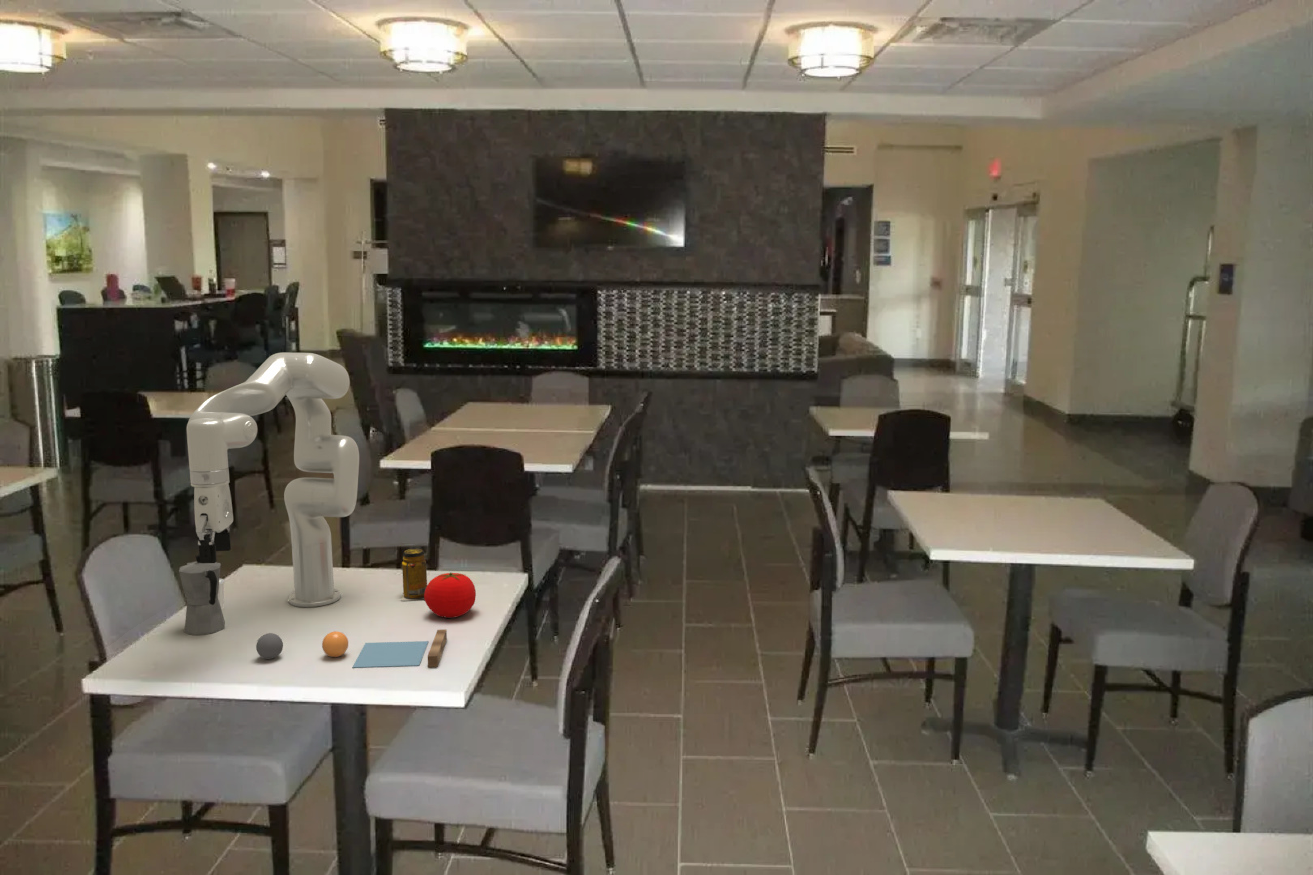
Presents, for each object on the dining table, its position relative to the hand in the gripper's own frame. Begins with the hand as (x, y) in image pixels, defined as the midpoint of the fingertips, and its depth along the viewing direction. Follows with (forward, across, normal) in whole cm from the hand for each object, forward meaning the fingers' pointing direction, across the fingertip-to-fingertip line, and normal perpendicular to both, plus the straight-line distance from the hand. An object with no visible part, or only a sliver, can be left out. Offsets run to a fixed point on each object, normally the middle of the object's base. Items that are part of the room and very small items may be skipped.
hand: (215, 556), depth 221 cm
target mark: (+23, 0, -36) cm, 43 cm away
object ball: (+20, 0, -24) cm, 31 cm away
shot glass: (+23, +34, +14) cm, 44 cm away
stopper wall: (+23, 0, -46) cm, 51 cm away
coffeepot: (+23, +19, +10) cm, 32 cm away
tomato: (+23, +25, -46) cm, 57 cm away
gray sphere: (+20, 0, -10) cm, 23 cm away
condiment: (+23, +40, -36) cm, 59 cm away
